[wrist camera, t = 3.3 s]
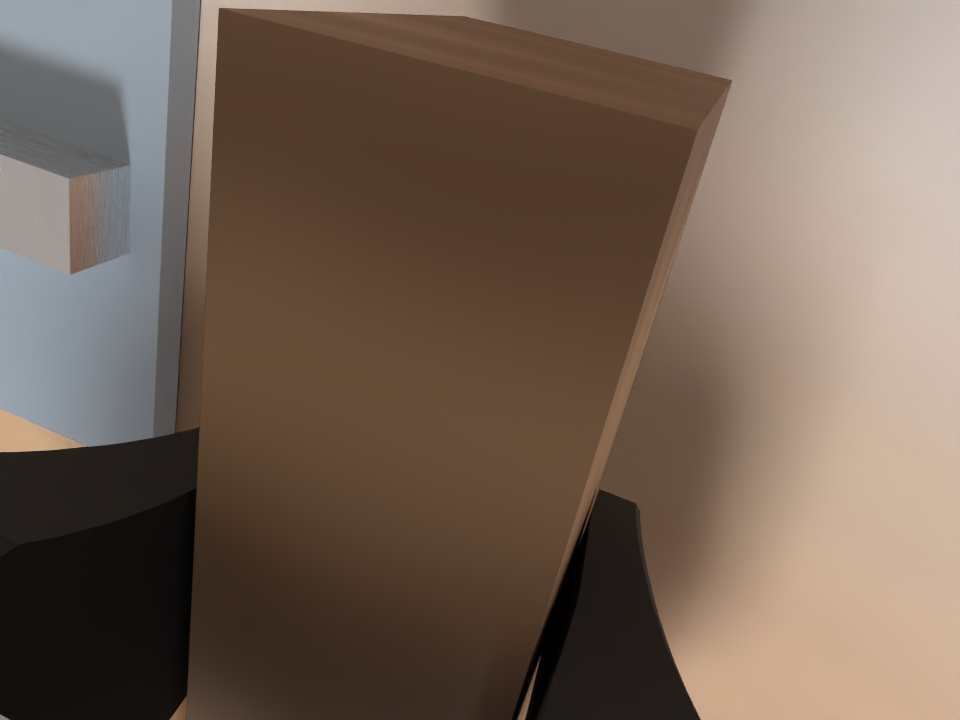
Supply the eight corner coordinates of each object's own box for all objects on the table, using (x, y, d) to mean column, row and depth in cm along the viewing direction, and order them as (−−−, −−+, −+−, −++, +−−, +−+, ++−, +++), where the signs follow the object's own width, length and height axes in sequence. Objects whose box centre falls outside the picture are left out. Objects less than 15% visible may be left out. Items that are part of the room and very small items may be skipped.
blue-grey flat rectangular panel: (173, 458, 25) (151, 473, 24) (-56, 360, 26) (-84, 372, 25) (207, -132, 17) (178, -139, 16) (-110, -212, 19) (-153, -224, 18)
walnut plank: (514, 749, 17) (401, 1068, 12) (349, 675, 18) (175, 943, 13) (732, 80, 11) (697, 129, 6) (464, 16, 12) (219, 7, 6)
